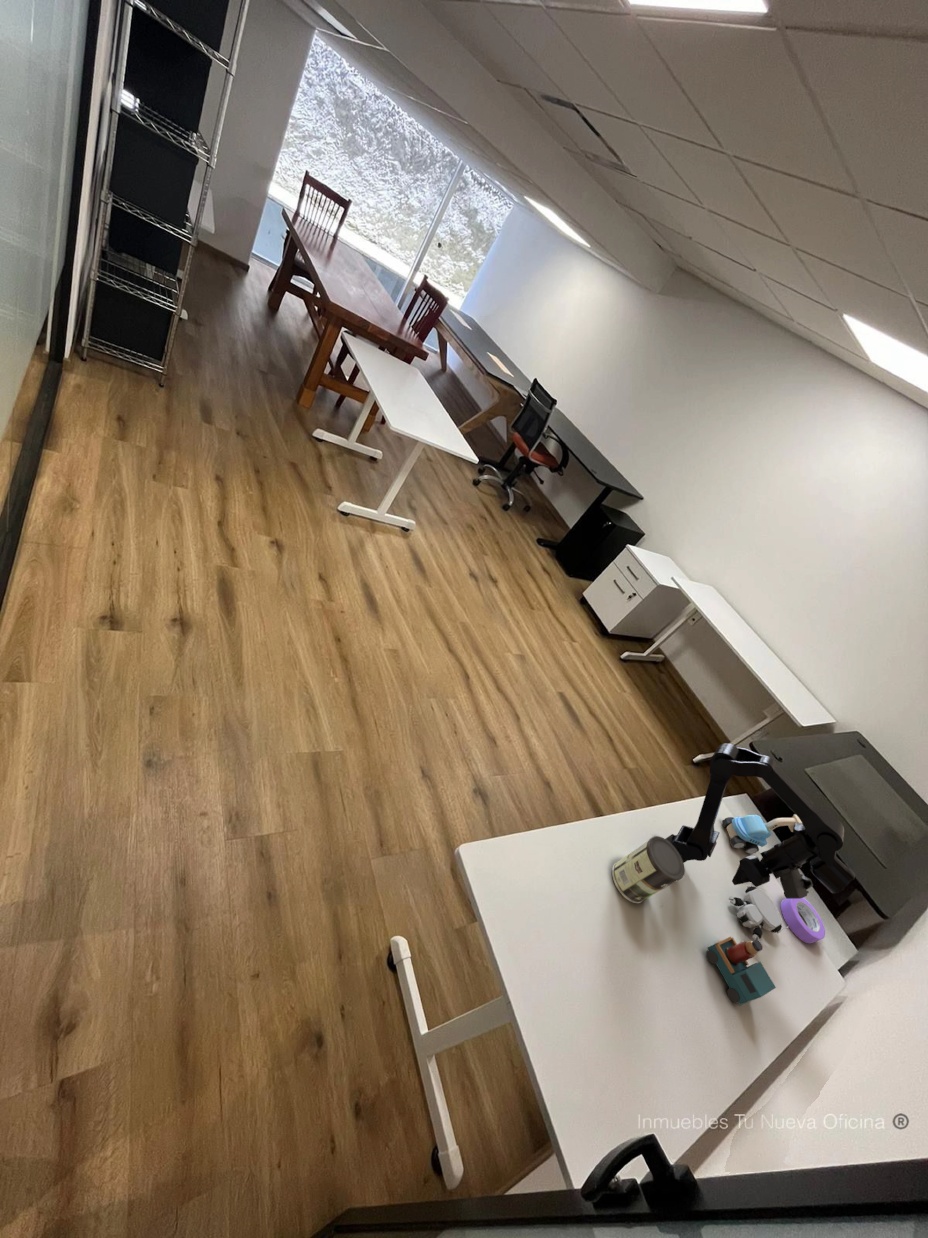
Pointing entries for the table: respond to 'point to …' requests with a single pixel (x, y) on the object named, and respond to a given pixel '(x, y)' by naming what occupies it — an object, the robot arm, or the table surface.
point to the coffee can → (648, 870)
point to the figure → (743, 951)
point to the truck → (740, 974)
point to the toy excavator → (754, 830)
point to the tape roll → (797, 925)
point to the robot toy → (758, 912)
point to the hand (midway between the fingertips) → (742, 879)
